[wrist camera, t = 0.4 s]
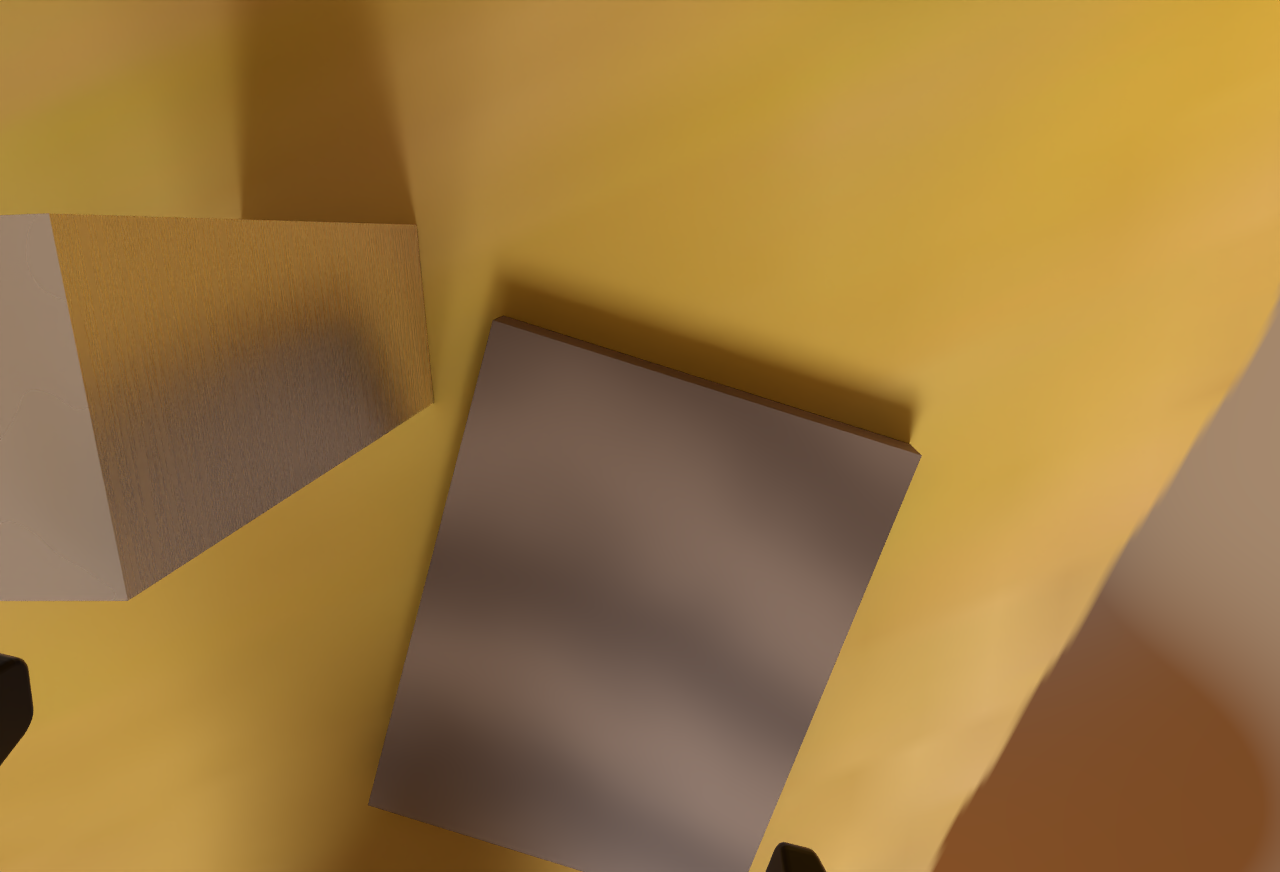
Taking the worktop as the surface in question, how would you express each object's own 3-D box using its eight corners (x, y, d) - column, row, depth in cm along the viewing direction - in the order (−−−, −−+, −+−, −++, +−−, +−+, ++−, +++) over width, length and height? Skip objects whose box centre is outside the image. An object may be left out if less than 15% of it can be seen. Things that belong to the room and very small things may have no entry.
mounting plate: (727, 887, 27) (729, 916, 26) (382, 780, 27) (367, 804, 25) (910, 444, 23) (921, 455, 22) (503, 315, 23) (493, 320, 21)
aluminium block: (433, 402, 23) (127, 601, 11) (267, 405, 24) (-216, 601, 11) (416, 224, 22) (48, 213, 10) (241, 231, 22) (-334, 228, 10)
